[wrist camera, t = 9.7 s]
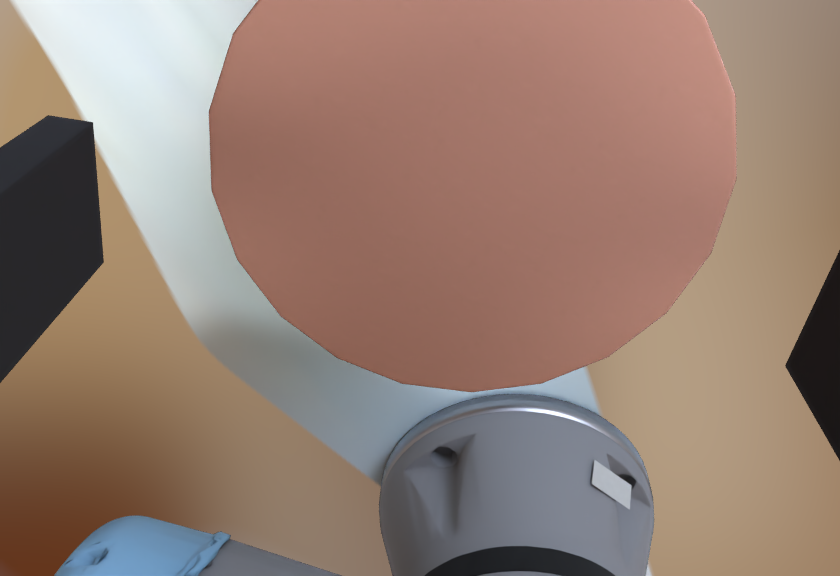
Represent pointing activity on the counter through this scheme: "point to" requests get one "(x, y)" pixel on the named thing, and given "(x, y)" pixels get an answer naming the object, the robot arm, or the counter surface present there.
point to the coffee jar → (472, 176)
